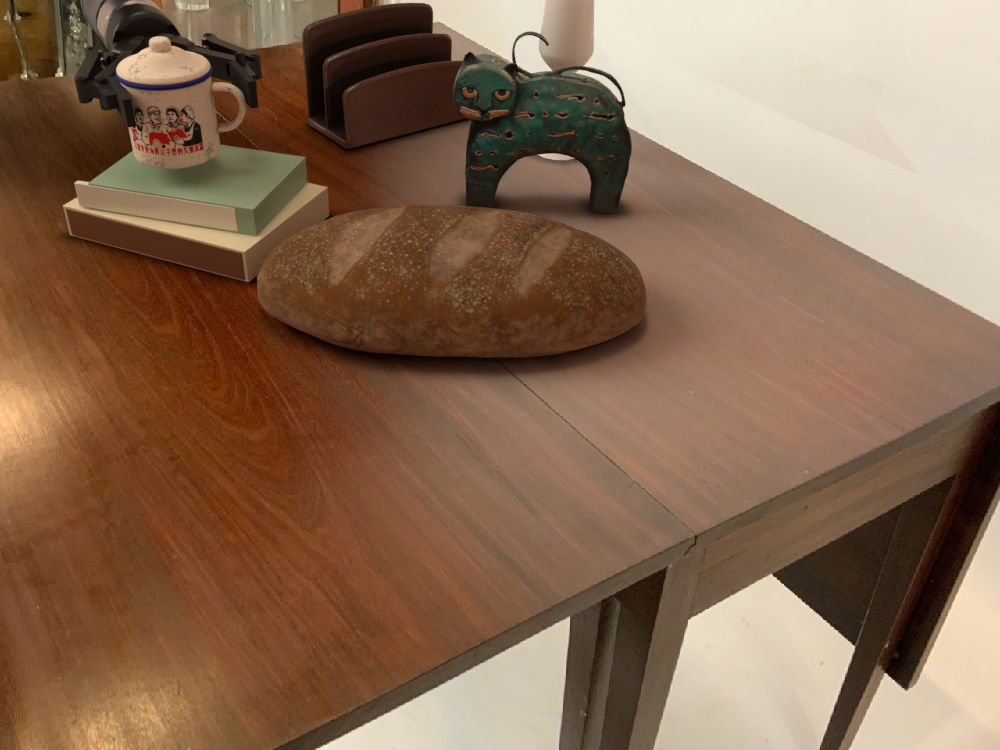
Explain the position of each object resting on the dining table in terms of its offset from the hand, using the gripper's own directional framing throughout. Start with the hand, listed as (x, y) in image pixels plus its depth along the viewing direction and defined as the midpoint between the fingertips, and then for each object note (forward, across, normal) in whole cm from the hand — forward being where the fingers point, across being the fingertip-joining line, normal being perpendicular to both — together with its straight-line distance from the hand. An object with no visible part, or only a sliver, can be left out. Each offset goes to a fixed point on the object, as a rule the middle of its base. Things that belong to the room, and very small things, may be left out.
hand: (193, 103), depth 94 cm
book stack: (-4, 0, -15) cm, 16 cm away
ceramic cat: (+7, -36, -15) cm, 40 cm away
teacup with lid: (-4, 0, -7) cm, 8 cm away
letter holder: (-22, -30, -15) cm, 40 cm away
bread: (+22, -17, -15) cm, 32 cm away
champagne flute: (-5, -46, -15) cm, 49 cm away
